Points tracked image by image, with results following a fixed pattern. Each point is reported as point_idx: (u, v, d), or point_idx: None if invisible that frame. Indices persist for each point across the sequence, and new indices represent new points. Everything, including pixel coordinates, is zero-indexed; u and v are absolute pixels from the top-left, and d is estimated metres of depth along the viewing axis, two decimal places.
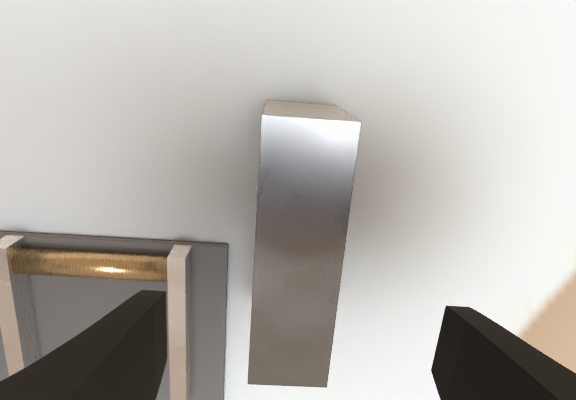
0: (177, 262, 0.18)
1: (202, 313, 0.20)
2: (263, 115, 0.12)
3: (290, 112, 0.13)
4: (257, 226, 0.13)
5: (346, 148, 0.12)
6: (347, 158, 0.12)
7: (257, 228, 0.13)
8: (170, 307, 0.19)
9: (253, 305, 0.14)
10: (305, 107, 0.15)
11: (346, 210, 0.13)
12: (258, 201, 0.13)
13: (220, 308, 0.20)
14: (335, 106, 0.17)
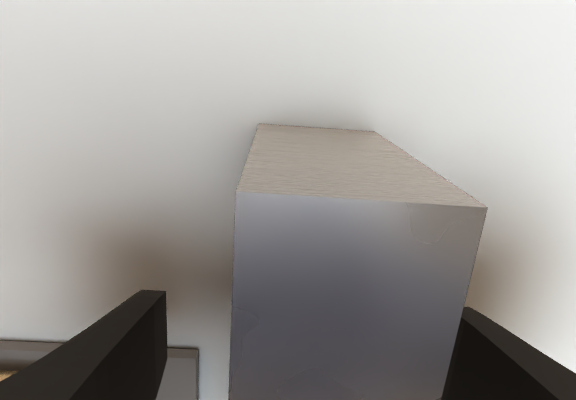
0: None
1: None
2: (240, 191, 0.05)
3: (305, 169, 0.06)
4: None
5: (446, 268, 0.05)
6: (446, 290, 0.05)
7: None
8: None
9: None
10: (330, 144, 0.08)
11: (435, 397, 0.06)
12: (231, 380, 0.06)
13: None
14: (379, 136, 0.10)
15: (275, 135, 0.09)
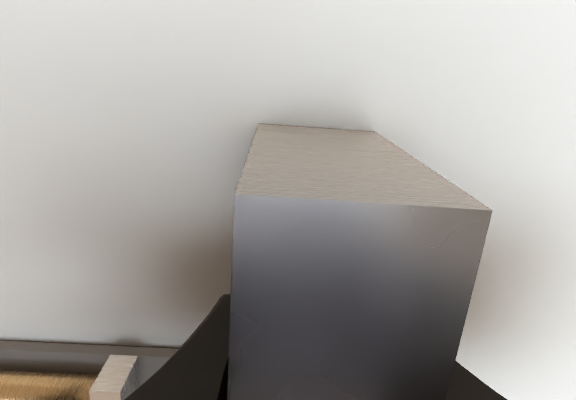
0: (107, 397, 0.11)
1: None
2: (238, 194, 0.05)
3: (305, 170, 0.06)
4: None
5: (449, 272, 0.05)
6: (450, 295, 0.05)
7: None
8: None
9: None
10: (330, 145, 0.08)
11: None
12: (230, 386, 0.05)
13: None
14: (380, 137, 0.10)
15: (275, 136, 0.09)
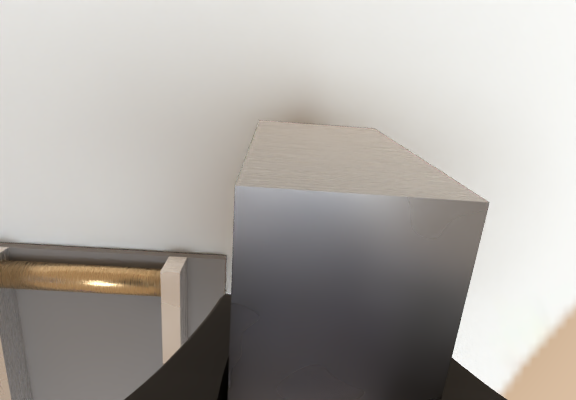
0: (171, 276, 0.17)
1: None
2: (239, 185, 0.05)
3: (305, 164, 0.06)
4: None
5: (447, 264, 0.05)
6: (448, 286, 0.05)
7: None
8: (164, 323, 0.17)
9: None
10: (330, 140, 0.08)
11: (436, 395, 0.06)
12: (231, 376, 0.06)
13: None
14: (379, 133, 0.10)
15: (275, 132, 0.09)
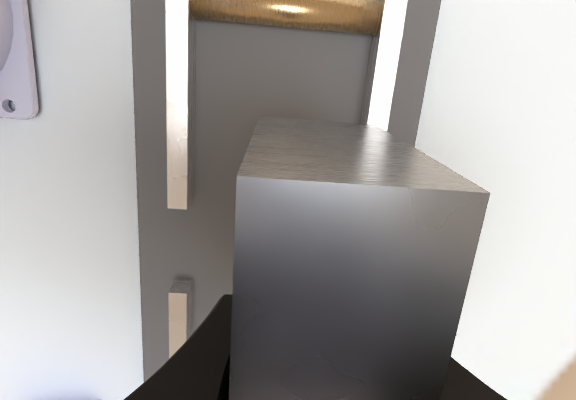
0: None
1: (396, 95, 0.17)
2: (241, 176, 0.05)
3: (306, 157, 0.06)
4: None
5: (448, 255, 0.05)
6: (449, 277, 0.05)
7: None
8: (379, 61, 0.15)
9: None
10: (331, 135, 0.08)
11: (436, 386, 0.06)
12: (232, 368, 0.06)
13: (419, 87, 0.17)
14: (380, 129, 0.10)
15: (276, 127, 0.09)
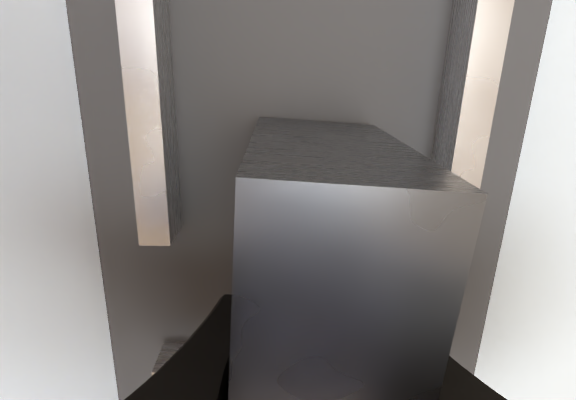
0: None
1: None
2: (240, 177, 0.05)
3: (305, 158, 0.06)
4: None
5: (446, 255, 0.05)
6: (447, 277, 0.05)
7: None
8: None
9: None
10: (330, 136, 0.08)
11: (435, 386, 0.06)
12: (232, 368, 0.06)
13: (537, 26, 0.10)
14: (379, 129, 0.10)
15: (275, 128, 0.09)
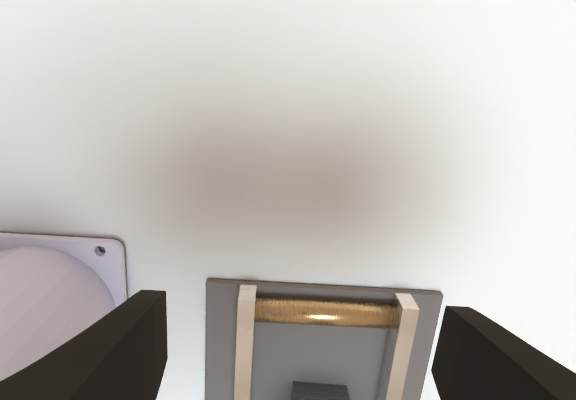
0: (411, 312, 0.19)
1: None
2: None
3: None
4: None
5: None
6: None
7: None
8: (396, 353, 0.20)
9: None
10: None
11: None
12: None
13: (426, 350, 0.22)
14: (348, 398, 0.21)
15: None
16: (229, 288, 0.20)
